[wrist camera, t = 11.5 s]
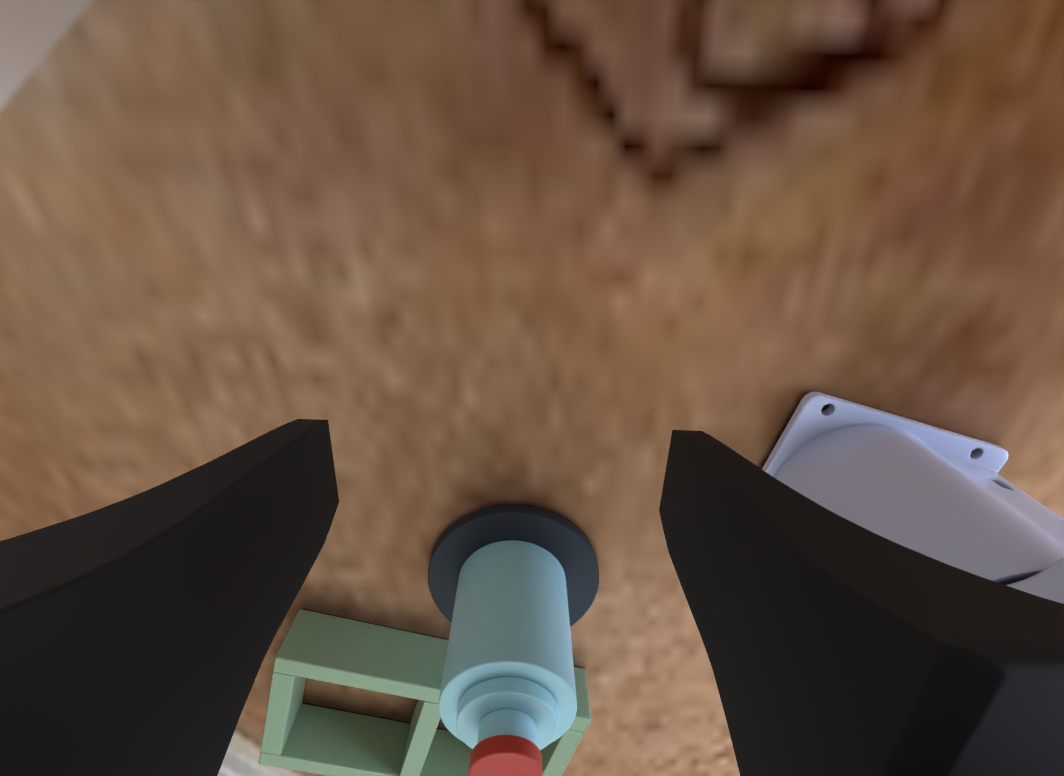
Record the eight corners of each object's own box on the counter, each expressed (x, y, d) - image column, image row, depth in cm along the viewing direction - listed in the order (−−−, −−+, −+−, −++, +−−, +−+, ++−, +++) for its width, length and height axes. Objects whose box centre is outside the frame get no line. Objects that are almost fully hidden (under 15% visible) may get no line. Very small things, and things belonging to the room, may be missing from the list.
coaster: (622, 527, 24) (624, 536, 24) (566, 646, 27) (567, 657, 27) (452, 485, 23) (450, 493, 23) (414, 614, 26) (411, 624, 26)
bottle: (580, 553, 24) (605, 742, 16) (546, 630, 26) (555, 830, 18) (474, 528, 23) (448, 712, 16) (447, 608, 25) (413, 807, 18)
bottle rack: (299, 607, 26) (274, 657, 23) (585, 668, 28) (591, 720, 25) (281, 710, 29) (258, 764, 27) (540, 758, 31) (541, 813, 28)
